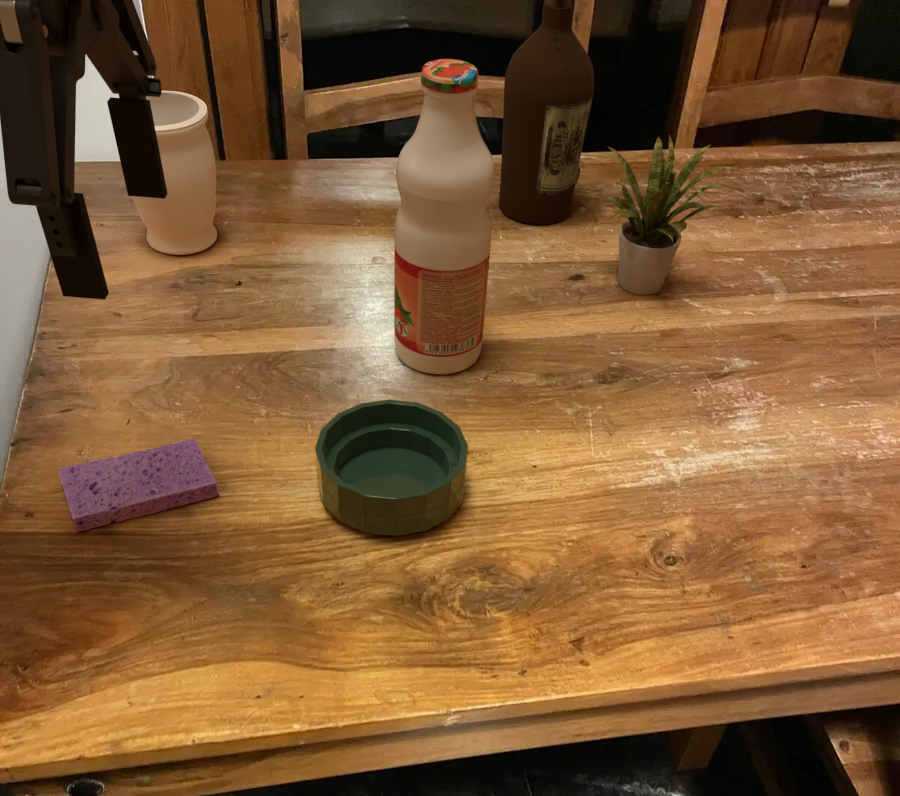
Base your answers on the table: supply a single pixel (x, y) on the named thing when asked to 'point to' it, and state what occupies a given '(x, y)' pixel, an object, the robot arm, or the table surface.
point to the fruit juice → (443, 226)
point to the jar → (181, 177)
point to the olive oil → (545, 119)
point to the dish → (391, 467)
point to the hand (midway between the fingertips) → (119, 242)
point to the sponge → (137, 484)
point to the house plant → (655, 219)
